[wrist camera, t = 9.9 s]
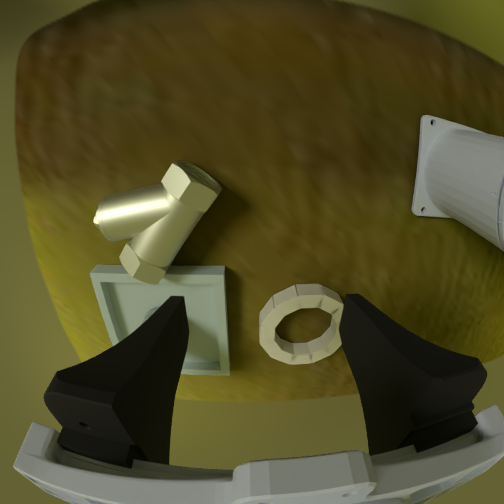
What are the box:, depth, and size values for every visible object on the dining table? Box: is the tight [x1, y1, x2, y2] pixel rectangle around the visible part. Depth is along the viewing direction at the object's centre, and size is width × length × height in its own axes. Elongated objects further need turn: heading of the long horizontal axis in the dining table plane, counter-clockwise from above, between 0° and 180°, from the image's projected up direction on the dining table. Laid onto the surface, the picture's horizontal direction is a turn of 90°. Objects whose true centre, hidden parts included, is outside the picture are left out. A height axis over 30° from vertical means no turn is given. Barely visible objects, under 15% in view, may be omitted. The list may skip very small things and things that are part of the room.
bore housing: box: [259, 284, 344, 364], centre depth 24 cm, size 8×8×2 cm
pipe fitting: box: [94, 160, 222, 285], centre depth 19 cm, size 8×4×7 cm
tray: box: [90, 265, 230, 376], centre depth 24 cm, size 11×11×1 cm
